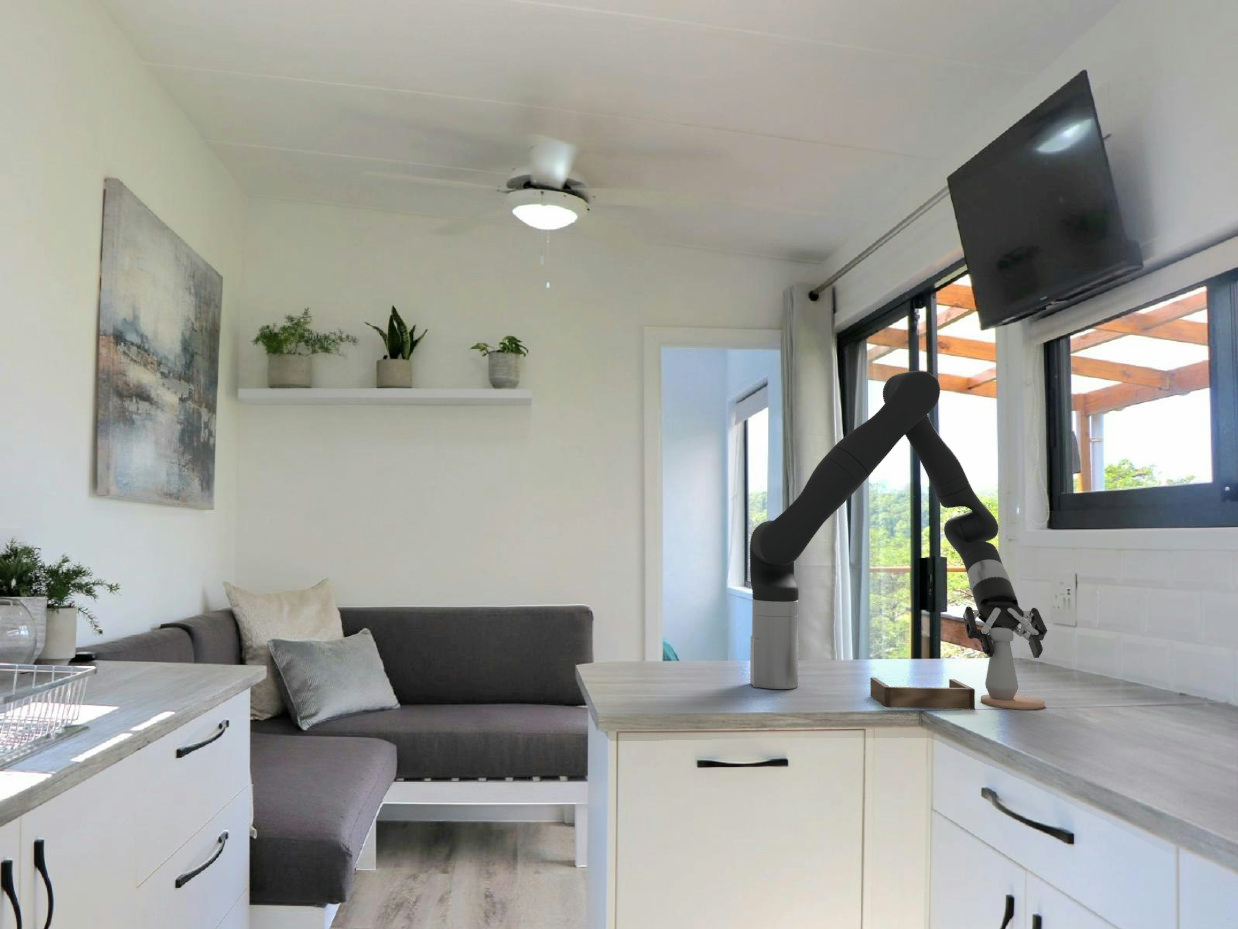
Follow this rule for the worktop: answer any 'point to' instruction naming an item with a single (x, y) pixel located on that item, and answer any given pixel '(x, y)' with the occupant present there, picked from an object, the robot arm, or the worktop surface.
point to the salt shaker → (1001, 666)
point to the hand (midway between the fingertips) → (1014, 655)
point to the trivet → (1014, 702)
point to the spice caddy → (924, 695)
